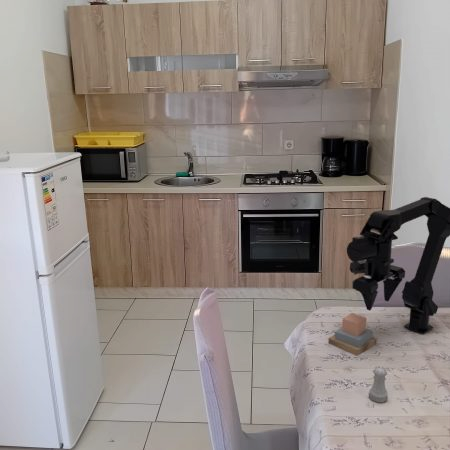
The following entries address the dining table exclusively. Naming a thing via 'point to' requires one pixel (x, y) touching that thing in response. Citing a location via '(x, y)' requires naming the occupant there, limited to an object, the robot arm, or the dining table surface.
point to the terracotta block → (354, 324)
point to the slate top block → (354, 337)
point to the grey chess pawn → (379, 385)
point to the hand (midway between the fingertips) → (377, 305)
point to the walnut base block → (351, 348)
